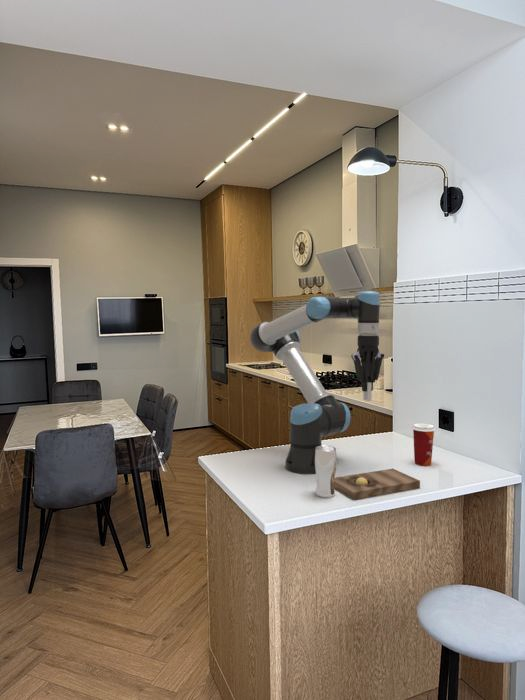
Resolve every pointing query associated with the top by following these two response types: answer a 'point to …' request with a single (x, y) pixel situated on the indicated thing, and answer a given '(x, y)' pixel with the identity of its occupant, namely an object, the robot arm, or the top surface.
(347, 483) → the board
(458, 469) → the top surface
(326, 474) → the beer glass
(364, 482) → the ball
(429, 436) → the coffee cup
